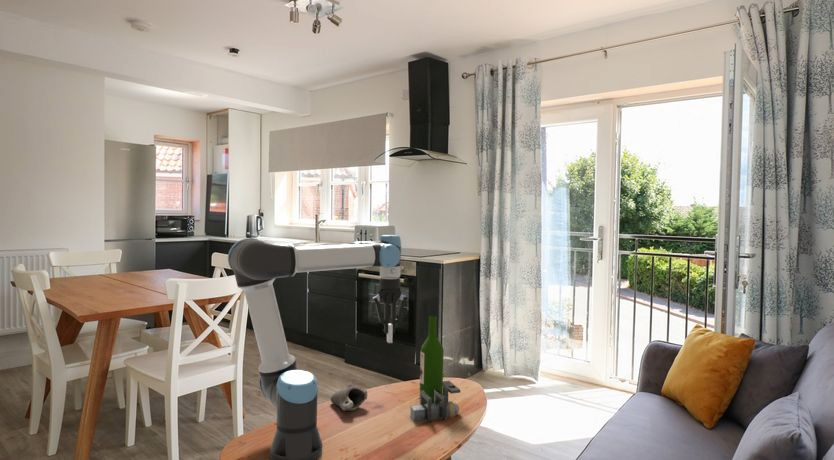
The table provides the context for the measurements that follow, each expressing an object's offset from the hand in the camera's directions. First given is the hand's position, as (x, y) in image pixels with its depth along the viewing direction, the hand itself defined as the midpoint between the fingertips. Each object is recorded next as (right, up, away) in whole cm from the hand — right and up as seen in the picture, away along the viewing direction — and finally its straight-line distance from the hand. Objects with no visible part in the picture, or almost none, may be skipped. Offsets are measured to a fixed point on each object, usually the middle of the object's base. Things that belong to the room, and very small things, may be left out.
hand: (389, 341), depth 176 cm
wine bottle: (+15, -26, +12) cm, 32 cm away
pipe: (-15, -25, +4) cm, 30 cm away
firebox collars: (+18, -26, -2) cm, 32 cm away
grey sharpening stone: (+16, -26, -4) cm, 31 cm away
